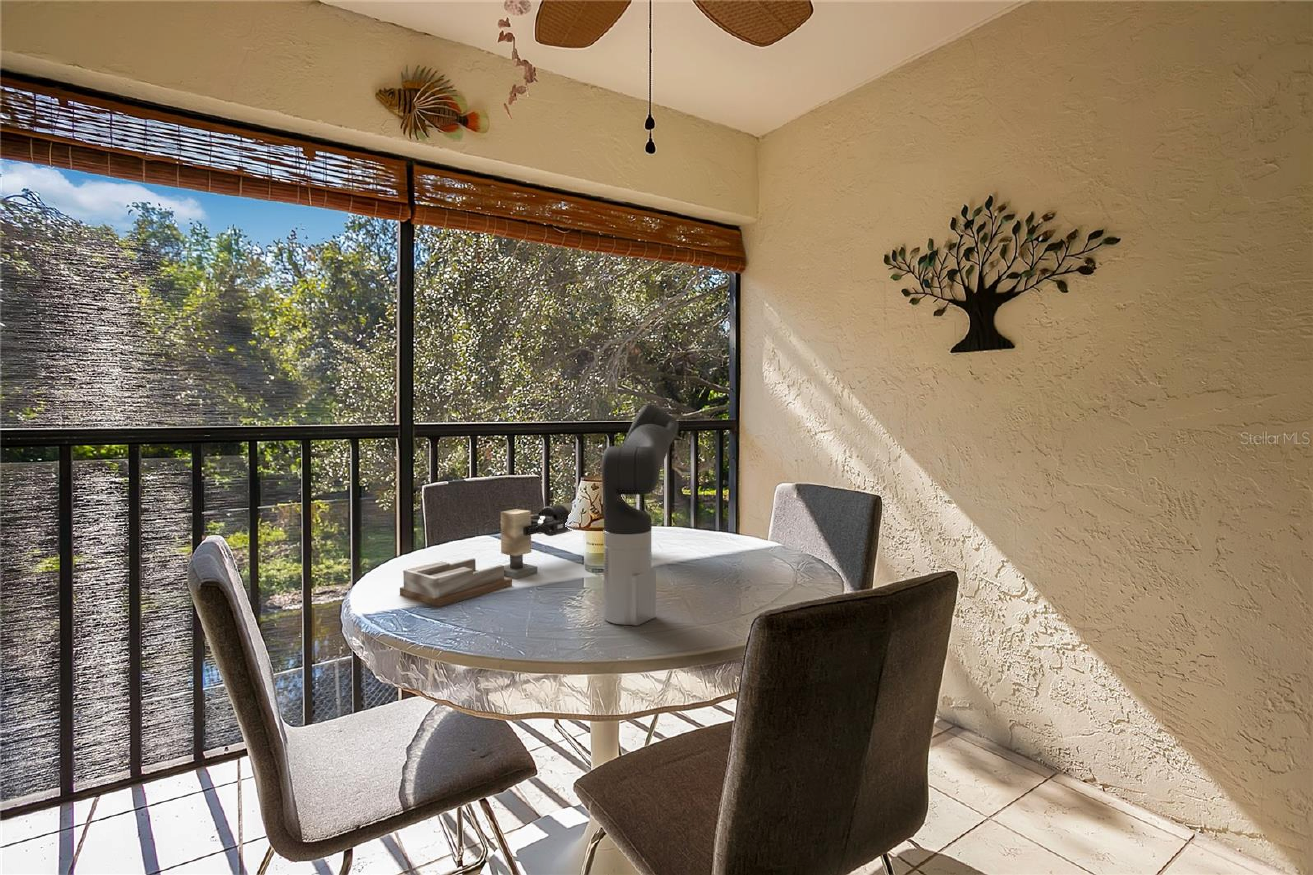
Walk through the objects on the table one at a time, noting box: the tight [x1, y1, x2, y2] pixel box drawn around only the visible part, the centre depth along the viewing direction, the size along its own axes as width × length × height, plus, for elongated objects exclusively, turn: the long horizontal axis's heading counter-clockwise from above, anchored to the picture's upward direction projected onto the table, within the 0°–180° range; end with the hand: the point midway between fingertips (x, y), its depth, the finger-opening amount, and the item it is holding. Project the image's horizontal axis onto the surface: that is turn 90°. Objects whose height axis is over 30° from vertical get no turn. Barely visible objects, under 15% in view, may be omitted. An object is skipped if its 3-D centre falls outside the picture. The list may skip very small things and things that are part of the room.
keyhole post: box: [500, 508, 538, 580], centre depth 159 cm, size 7×7×15 cm
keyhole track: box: [399, 557, 513, 608], centre depth 146 cm, size 14×19×6 cm
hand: (512, 528), depth 158 cm, fingers open, 8 cm apart
